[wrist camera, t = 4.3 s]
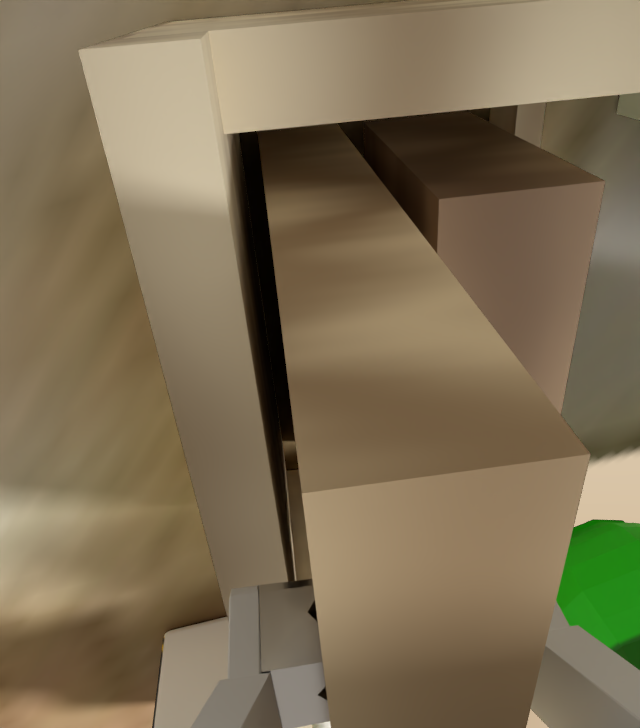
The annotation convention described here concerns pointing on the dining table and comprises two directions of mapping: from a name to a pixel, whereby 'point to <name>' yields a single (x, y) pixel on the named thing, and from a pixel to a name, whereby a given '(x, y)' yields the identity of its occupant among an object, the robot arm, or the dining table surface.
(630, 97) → the stand
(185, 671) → the medicine bottle
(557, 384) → the offcut tall
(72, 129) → the dining table surface
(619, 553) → the plastic bottle
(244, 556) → the box
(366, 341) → the light wood flat panel
